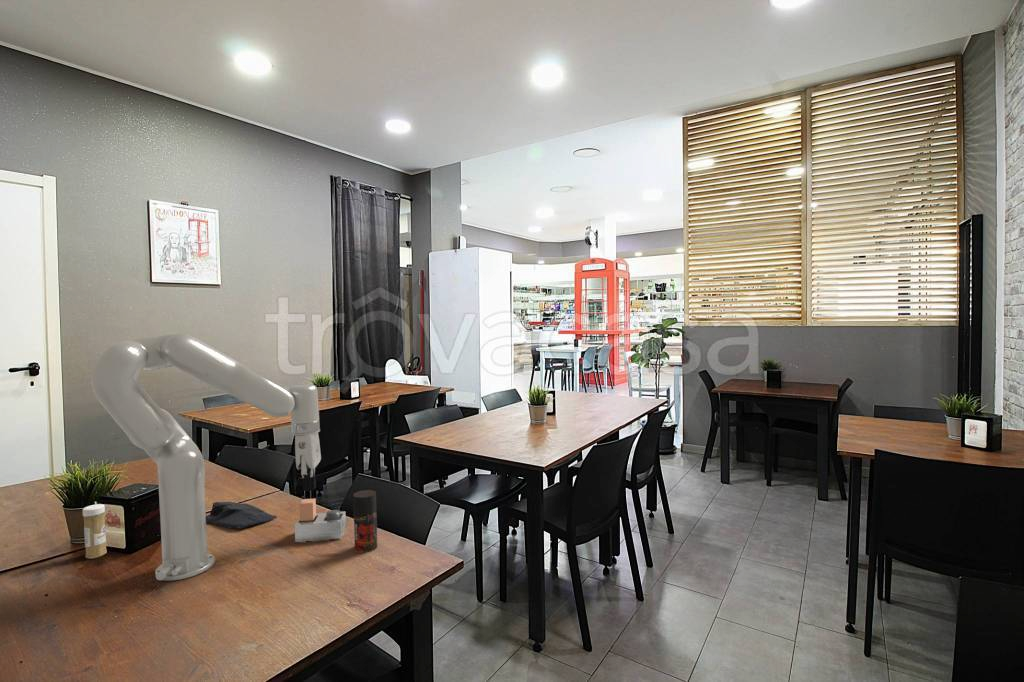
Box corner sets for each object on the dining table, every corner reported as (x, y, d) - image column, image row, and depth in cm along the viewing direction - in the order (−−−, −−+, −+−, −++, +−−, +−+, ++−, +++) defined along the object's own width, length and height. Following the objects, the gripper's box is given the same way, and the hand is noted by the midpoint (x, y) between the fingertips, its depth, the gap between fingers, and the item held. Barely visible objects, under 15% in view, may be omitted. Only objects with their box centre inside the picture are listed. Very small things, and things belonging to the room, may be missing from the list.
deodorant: (350, 549, 135) (348, 495, 134) (366, 541, 140) (364, 488, 139) (366, 554, 132) (364, 498, 131) (382, 545, 137) (380, 491, 137)
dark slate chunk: (232, 537, 145) (231, 521, 145) (196, 521, 158) (196, 506, 157) (281, 519, 158) (280, 504, 158) (245, 505, 170) (244, 492, 170)
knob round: (339, 531, 143) (338, 514, 143) (325, 532, 143) (325, 515, 143) (341, 525, 147) (341, 509, 147) (328, 526, 147) (327, 510, 146)
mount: (341, 538, 142) (340, 519, 141) (295, 542, 140) (294, 523, 139) (345, 527, 149) (345, 509, 149) (302, 531, 147) (301, 512, 147)
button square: (313, 520, 142) (312, 502, 142) (300, 521, 142) (299, 503, 141) (316, 515, 146) (315, 498, 146) (303, 516, 145) (302, 499, 145)
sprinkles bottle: (105, 556, 133) (103, 507, 133) (83, 561, 131) (81, 511, 130) (108, 549, 137) (105, 502, 137) (86, 554, 135) (83, 505, 134)
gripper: (313, 432, 136) (317, 498, 137) (324, 421, 151) (328, 480, 152) (284, 434, 135) (288, 500, 136) (298, 423, 149) (302, 482, 151)
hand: (309, 489), depth 144 cm, fingers closed
